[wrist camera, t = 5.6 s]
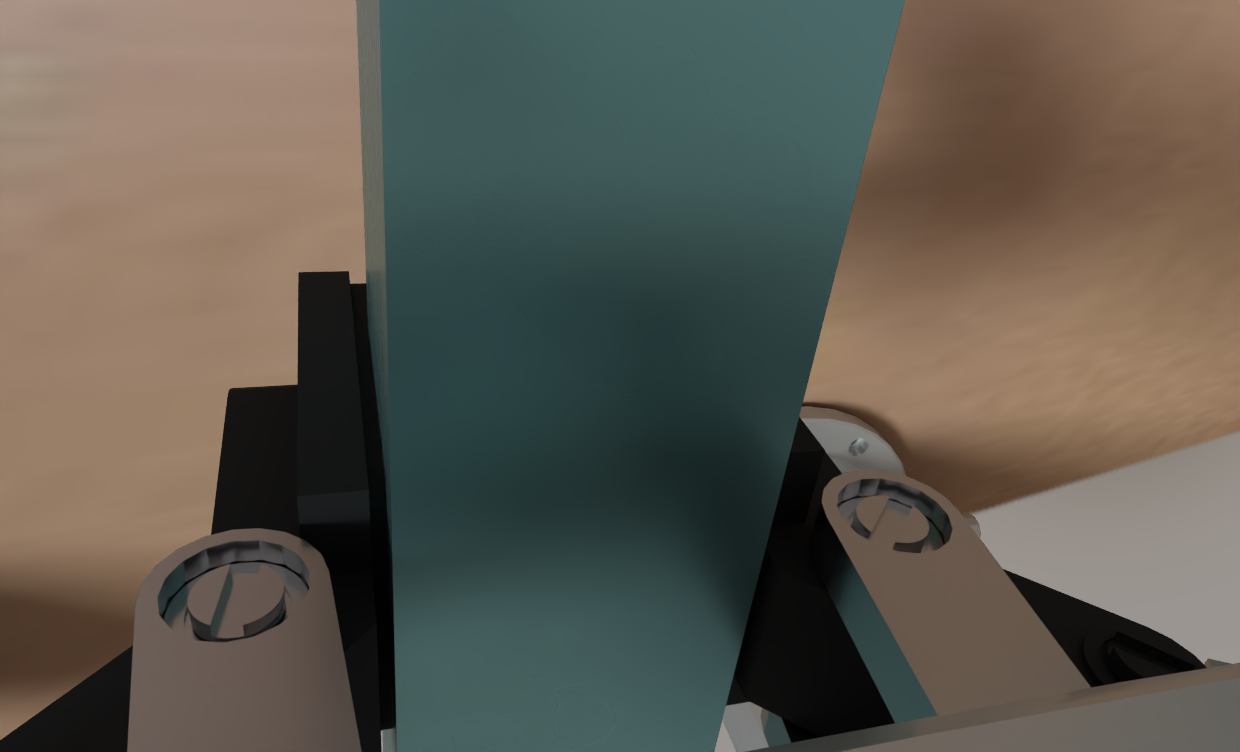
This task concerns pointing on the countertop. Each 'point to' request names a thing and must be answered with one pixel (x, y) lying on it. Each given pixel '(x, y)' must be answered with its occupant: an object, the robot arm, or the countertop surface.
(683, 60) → the teal and white bridge
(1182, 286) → the countertop surface
